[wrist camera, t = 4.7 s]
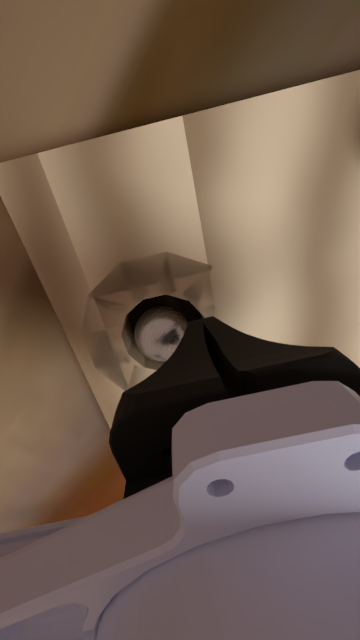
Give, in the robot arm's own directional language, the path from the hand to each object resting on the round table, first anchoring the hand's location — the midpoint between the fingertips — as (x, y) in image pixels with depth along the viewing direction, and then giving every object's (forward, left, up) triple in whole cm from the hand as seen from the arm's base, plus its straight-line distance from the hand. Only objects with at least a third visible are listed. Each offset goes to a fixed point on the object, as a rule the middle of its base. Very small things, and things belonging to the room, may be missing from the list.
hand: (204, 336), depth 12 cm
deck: (-3, 0, -3) cm, 5 cm away
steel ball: (+2, 0, -2) cm, 3 cm away
